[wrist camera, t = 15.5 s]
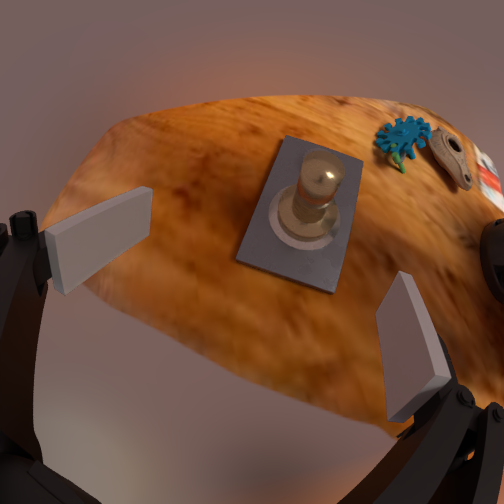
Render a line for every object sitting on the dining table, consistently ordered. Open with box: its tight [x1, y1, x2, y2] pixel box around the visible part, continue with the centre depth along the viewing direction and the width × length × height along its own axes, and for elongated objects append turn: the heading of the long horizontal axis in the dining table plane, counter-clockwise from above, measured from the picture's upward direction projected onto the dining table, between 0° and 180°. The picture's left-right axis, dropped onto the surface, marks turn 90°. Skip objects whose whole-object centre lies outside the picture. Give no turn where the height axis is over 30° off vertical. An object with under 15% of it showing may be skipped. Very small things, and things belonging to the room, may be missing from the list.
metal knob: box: [277, 151, 345, 242], centre depth 28 cm, size 7×7×10 cm
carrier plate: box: [235, 135, 363, 295], centre depth 33 cm, size 12×20×2 cm, turn 160°
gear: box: [376, 116, 432, 173], centre depth 36 cm, size 11×6×10 cm
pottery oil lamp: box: [427, 126, 472, 191], centre depth 35 cm, size 9×12×7 cm
